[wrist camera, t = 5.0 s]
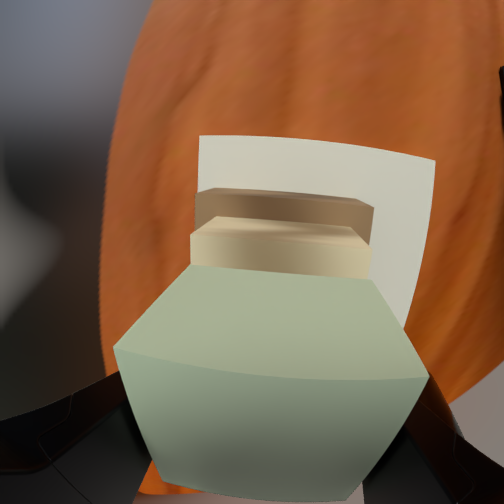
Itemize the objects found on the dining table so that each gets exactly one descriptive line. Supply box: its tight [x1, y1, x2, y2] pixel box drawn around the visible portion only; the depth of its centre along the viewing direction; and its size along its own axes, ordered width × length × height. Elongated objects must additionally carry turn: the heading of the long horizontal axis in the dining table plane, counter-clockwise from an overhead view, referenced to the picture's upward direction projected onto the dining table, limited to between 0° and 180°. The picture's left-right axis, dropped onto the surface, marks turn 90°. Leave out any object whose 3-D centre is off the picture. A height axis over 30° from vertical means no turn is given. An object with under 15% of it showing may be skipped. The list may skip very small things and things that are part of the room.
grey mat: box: [198, 136, 435, 328], centre depth 16 cm, size 14×12×1 cm
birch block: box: [190, 216, 372, 279], centre depth 11 cm, size 6×6×4 cm
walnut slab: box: [195, 188, 374, 245], centre depth 15 cm, size 8×8×4 cm
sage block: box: [113, 265, 430, 502], centre depth 6 cm, size 5×5×4 cm
